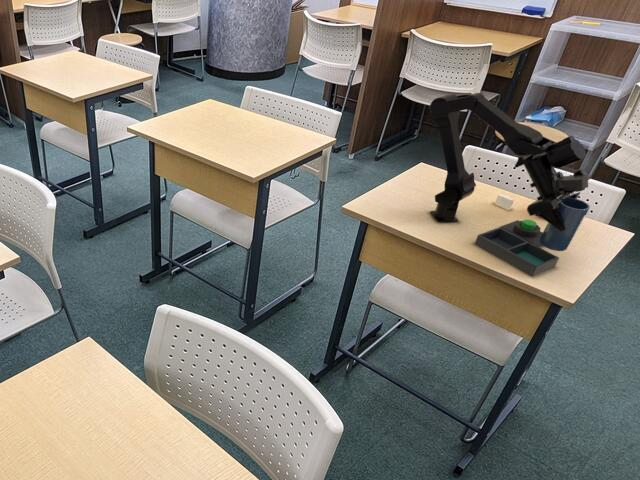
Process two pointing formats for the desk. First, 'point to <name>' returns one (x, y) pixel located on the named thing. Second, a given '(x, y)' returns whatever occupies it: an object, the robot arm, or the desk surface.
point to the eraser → (504, 202)
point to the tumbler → (572, 219)
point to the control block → (524, 232)
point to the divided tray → (516, 251)
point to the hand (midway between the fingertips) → (569, 226)
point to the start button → (528, 224)
